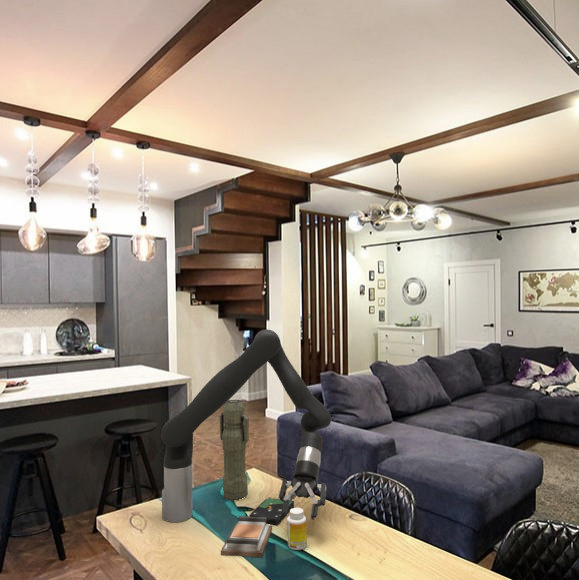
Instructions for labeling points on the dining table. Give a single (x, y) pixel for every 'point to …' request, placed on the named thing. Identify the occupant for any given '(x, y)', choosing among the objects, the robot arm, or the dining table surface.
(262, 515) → the disk drive
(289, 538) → the supplement bottle
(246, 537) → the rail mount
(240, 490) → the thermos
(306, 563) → the dining table surface
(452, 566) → the dining table surface
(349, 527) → the dining table surface
